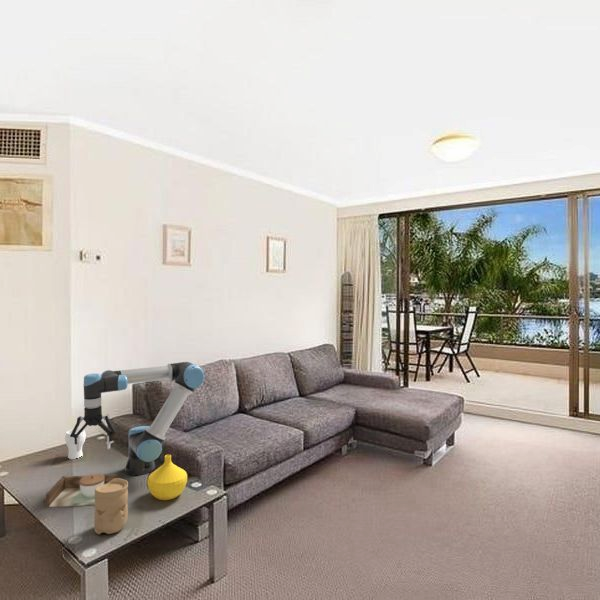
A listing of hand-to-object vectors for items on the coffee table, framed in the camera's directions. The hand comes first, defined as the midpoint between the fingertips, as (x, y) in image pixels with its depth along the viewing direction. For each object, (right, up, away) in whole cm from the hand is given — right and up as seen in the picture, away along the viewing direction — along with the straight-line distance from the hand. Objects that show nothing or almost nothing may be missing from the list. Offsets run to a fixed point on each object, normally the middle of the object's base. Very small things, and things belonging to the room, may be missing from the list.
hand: (94, 449), depth 203 cm
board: (-3, -21, -5) cm, 21 cm away
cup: (-31, -19, +41) cm, 55 cm away
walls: (-3, -21, -5) cm, 21 cm away
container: (+22, -22, -30) cm, 43 cm away
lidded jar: (+1, -20, -5) cm, 21 cm away
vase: (+36, -22, -2) cm, 42 cm away
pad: (+1, -21, -5) cm, 21 cm away
